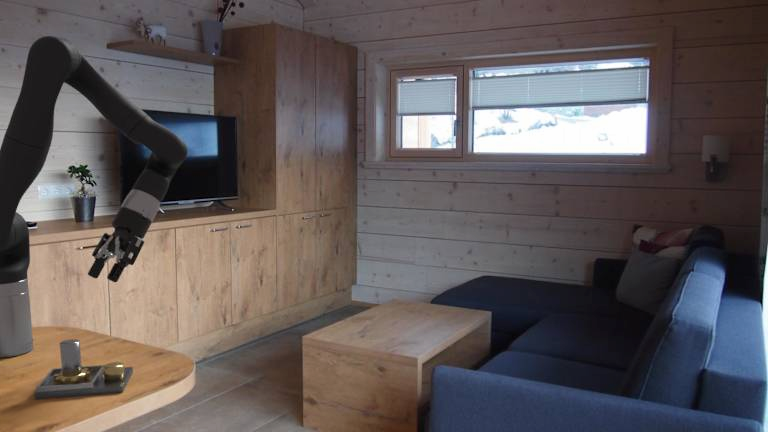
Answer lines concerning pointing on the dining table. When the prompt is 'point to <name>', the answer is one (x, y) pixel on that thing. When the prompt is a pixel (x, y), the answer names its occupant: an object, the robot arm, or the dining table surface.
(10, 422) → the dining table surface
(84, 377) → the gear
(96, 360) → the dining table surface
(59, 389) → the tray
